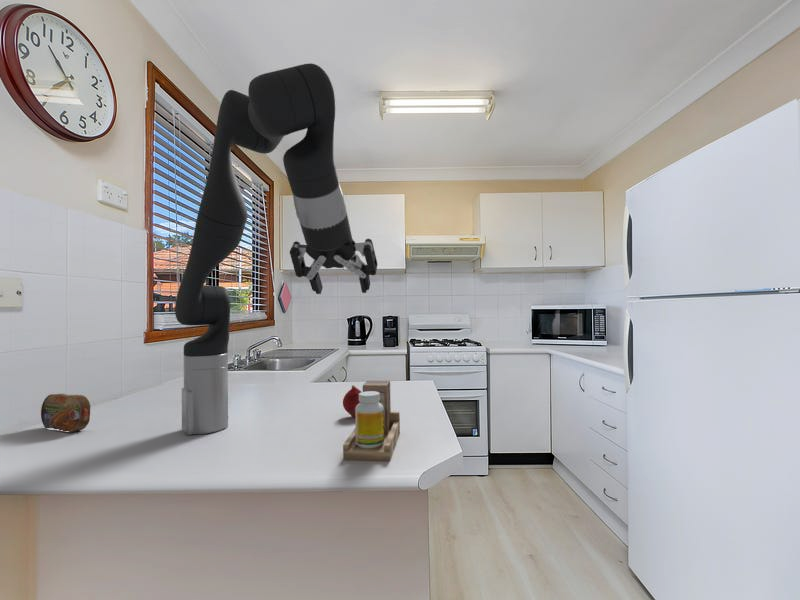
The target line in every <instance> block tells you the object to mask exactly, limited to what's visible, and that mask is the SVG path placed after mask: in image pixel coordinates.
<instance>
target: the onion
mask: <svg viewBox="0 0 800 600" xmlns="http://www.w3.org/2000/svg"><path fill="white" fill-rule="evenodd" d="M361 392H362V390H360V389H359V388H357V387H356V385H354V384H352V385H351V389H349V390H348V391H347V392H346V393H345V395H344V396H343V399H342V407H343V409H344V410H345V411H346V412H347V413H348V415H350V416H351V417H352V418H355V408H356V406H357V405H358V404H359V403H360V402H359V393H361Z"/></svg>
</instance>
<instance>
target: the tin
mask: <svg viewBox="0 0 800 600" xmlns="http://www.w3.org/2000/svg"><path fill="white" fill-rule="evenodd" d="M90 416H91V403H90V400H89V399H88V398H87V397H86V396H85V395H83V394H70V393H56V394H53V393H52V394H48V395H46V397H45V398H44V400H43V402H42V405H41V407H40V418H41V422H42V425H43V427H44V428H45V429H46V428H54V429H59V430H63V431H69V432H71V433H74V432H73V431H75V432H79V431H82V430H84V429H86V428H87V426H88V425H89V422H90V418H91V417H90ZM78 430H79V431H78Z"/></svg>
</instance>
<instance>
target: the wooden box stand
mask: <svg viewBox="0 0 800 600" xmlns="http://www.w3.org/2000/svg"><path fill="white" fill-rule="evenodd" d="M366 391H376V392H379V393H380V400H379V403H381V404H382V405H383V408H384V443H383V445H382V446H380V447H377V448H372V449H366V448H361V447H358V446H357V445H356V427H355V428H354V429H353V431H352V432H351V433H350V434H349V436H348V437H347V439H346V440H345V441H344V442H343V444H342V456H343V457H342V458H343V459H342V460H344V461H347V460H348V461H377V462H378V461H386V462H391V460H392V457H393V453H394V450H395V448H396V445H397V442H398V439H399V436H400V434H401V429H400V428H401V426H400V425H401V424H400V423H401V422H400V416H401V415H400V411H392V410H391V408H392V407H391V380H366V381H365V382H364V383H363V384H362V392H366Z"/></svg>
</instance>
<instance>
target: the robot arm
mask: <svg viewBox="0 0 800 600" xmlns="http://www.w3.org/2000/svg"><path fill="white" fill-rule="evenodd" d="M247 88H248V90H247V91H248V94H247V95H246V94H244V93H242V92H240V91H236V90H234V89H229V90H227V91H226V92H225V93H224V95H223V97H222V100H221V102H220V106H219V111H218V115H217V120H216V125H215V126H216V127H215V131H214V132H215V133H214V137H213V138H214V139H213V146H212V153H211V158H210V164H209V170H208V173H207V177H206V181H205V182H206V183H205V185H204V189H203V194H202V197H201V201H200V203H199V209H198V212H197V216H196V221H195V225H194V226H195V227H194V232H193V237H192V242H191V247H190V252H189V254H188V255H189V257H188V260H187V264H186V266H185V269H184V272H183V276H182V278H181V282H180V283H179V284H180V285H179V287H178V291H177V295H176V299H175V305H174V314H175V319H176V321H177V322H178V323H179V324H180V325H184V326H208V328H207V331H206V332H204V333H203V334H202V335H200V336H198V337H196V338H194V339H192V340H188V341H187V342H186V343H185V344H184V345H183V387H182V388H181V430H182V431H183V433H184V434H185V435H186V436H190V435H201V434H202V435H203V434H210V433H216V432H219V431H221V430H224V429H226V428H227V427H228V426H229V363H228V362H229V361H228V360H229V358H228V357H229V353H228V351H229V348H228V347H229V340H230V325H231V324H230V323H231V322H230V319H231V298H230V293H229V292H228V290H227V288H226V287H224V286H219V285H204V284H205V283H206V280H207V278H208V277H209V275H210V274H211V273H212V272H213V271H214V269H215V268H217V266H218V265H220V264H221V263H222V262H223V261H224V260H226V258H228V257H229V256H230V255H231V254H232V253H233V252H234V251H235V250H236V249H237V248H238V247H239V245H240V243H241V241H242V238H243V234H244V231H245V227H246V223H247V219H248V210H247V206H246V205H247V204H246V203H245V198H244V197H243V194H242V192H241V188H240V187H239V184H238V181H237V178H236V174H235V169H234V167H233V162H232V154H231V152H232V151H231V149H232V145H236V146H238V147H241V148H244V149H246V150H249V151H253V152H255V153H259V154H262V155H263V154H270V153H272V152H274V150H276V148H277V147H278V146H279V145H280V143H281V141H283V138H285V136H288V135H291V134H293V133H296V132H300V131H303V130H306V133H305V136H304V137H303V138H302V139H301V140H300V141H298V142H296V143H295V144H294V145H292V146H291V147H290V148H288V149H287V150H286V151H285V152H284V154H283V157H282V160H283V166H284V170H285V174H286V177H287V180H288V183H289V186H290V190H291V193H292V197H293V205H294V208H295V214H296V217H297V219H298V222H299V225H300V227H301V232H302V235H303V238H304V241H305V243H306V244H301V243H300V242H299V241H297V240H296V241H294V242H293V243H292V245H291V248H290V250H289V255H290V259H291V262H292V266H293V270H294V272H295V276H296V277H298V278H302V277H304V278H305V277H306V279H308V280H309V281H308V282H309V284H310V287H311V291H313V292H315V293H316V295H321V294H322V291H323V283H322V280H321V276H320V273H319V271H320V269H321V268H322V267H323V268H325V269H333V268H338V269H344V268H345V269H346V270H348V271H349V272H350V273H355V275H357V276H358V280H359V284H360V289H361V293H362V294H366V293H368V292H367V291H369V290H370V287H371V281H370V280H371V279H370V276H375V275H376V274H377V270H378V269H377V268H378V259H377V256H376V251H375V248H374V243H373V240H372V239H371V238H366V239H365V241H364V242H355V240H354V239H353V236H352V235H353V234H352V231H351V226H350V222H349V221H350V219H349V216H348V213H347V211H348V210H347V206H346V203H345V198H344V194H343V191H342V187H341V185H340V182H339V176H338V172H337V167H336V162H335V156H334V155H335V154H334V150H335V146H334V145H335V125H336V124H335V123H336V111H337V108H336V105H337V101H336V93H335V89H334V85H333V83H332V81H331V79H330V77H329V75H328V74H327V71H325V70H324V69H323V68H322V67H321V66H320V65H318V64H315V63H311V62H309V63H304V64H298V65H295V66H291V67H287V68H286V67H285V68H282V69H277V70H274V71H270V72H266V73H262V74H259V75H258V76H255V77H254V78H253V79H251V80H250V82H249V85H248V87H247ZM356 252H359V253H360V255H361V256H360V255H358V254H357V253H356ZM306 254H307V255H308V257H310V258H312V260H313V262H312V263H311V265H310V266H306V262H305V258H304V257H305V255H306ZM361 257H362V258H363V257H364V259H365V262H364V261H363V260H362V259H361Z"/></svg>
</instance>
